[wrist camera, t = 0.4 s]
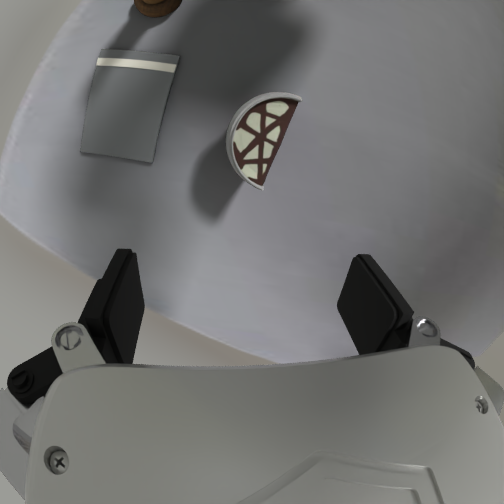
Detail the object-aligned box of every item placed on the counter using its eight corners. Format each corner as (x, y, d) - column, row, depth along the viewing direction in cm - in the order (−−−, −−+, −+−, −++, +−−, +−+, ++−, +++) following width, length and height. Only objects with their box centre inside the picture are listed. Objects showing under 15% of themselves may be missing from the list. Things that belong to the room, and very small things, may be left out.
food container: (242, 81, 32) (251, 74, 24) (283, 96, 34) (304, 96, 25) (212, 159, 38) (210, 177, 29) (251, 172, 39) (262, 194, 31)
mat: (103, 49, 26) (100, 49, 25) (180, 56, 29) (179, 55, 28) (82, 150, 34) (79, 152, 33) (153, 161, 37) (151, 163, 36)
